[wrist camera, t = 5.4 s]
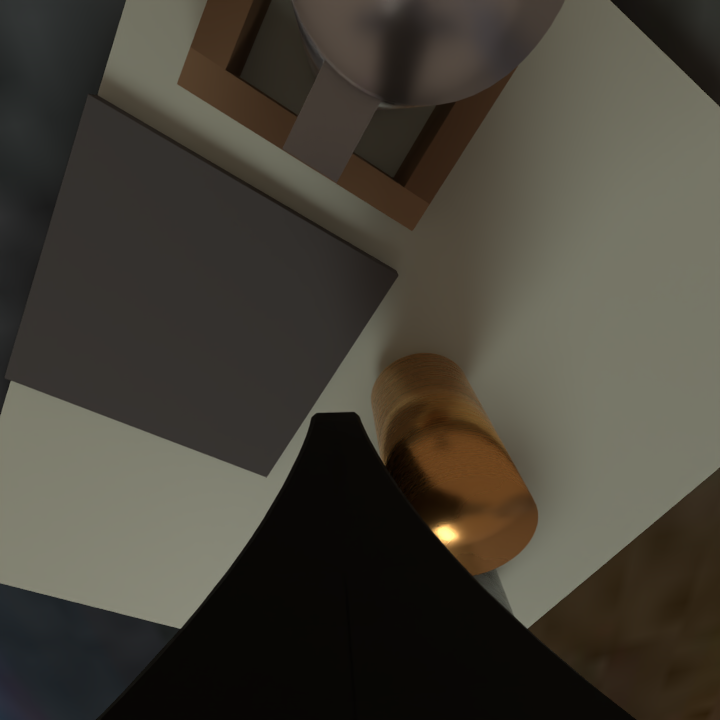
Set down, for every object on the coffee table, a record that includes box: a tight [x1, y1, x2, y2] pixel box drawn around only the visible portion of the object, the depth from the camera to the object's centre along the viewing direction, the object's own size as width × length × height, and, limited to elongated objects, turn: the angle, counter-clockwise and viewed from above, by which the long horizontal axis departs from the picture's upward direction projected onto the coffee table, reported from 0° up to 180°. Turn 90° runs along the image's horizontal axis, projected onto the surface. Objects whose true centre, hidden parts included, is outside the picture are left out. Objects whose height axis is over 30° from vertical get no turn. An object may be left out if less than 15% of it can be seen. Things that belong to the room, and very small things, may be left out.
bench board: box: [0, 0, 720, 629], centre depth 14 cm, size 20×22×1 cm
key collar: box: [177, 0, 518, 231], centre depth 8 cm, size 5×5×2 cm
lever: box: [371, 353, 538, 576], centre depth 11 cm, size 6×3×4 cm, turn 3°
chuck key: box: [282, 0, 565, 183], centre depth 6 cm, size 2×4×6 cm, turn 149°
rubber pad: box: [5, 94, 399, 478], centre depth 11 cm, size 7×7×1 cm
